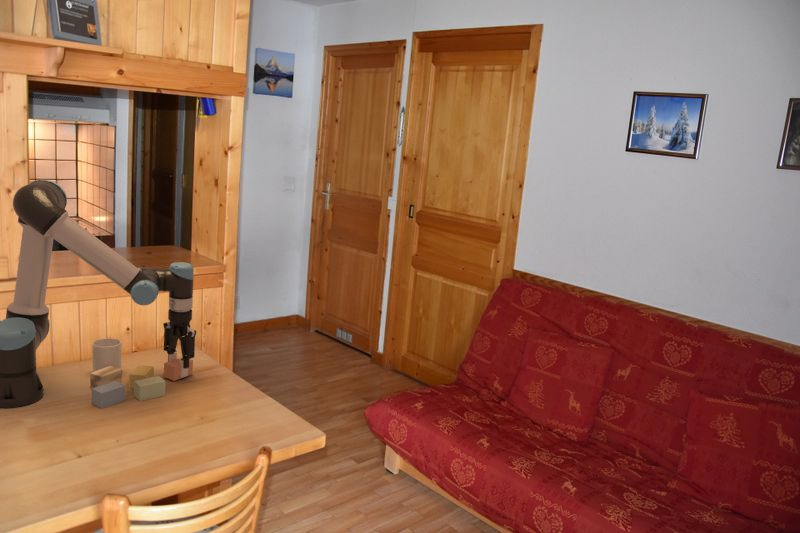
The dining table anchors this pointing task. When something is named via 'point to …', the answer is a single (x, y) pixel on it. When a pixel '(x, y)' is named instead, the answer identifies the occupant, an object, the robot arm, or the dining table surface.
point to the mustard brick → (140, 374)
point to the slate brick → (108, 394)
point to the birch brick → (105, 376)
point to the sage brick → (149, 388)
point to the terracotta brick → (176, 369)
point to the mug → (106, 353)
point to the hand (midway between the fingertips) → (178, 374)
